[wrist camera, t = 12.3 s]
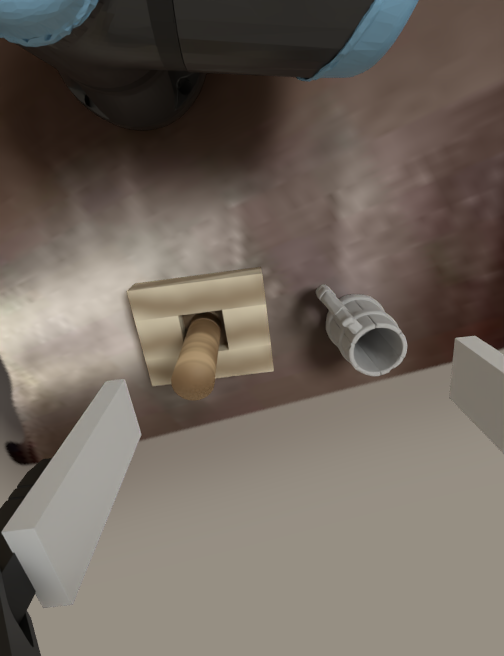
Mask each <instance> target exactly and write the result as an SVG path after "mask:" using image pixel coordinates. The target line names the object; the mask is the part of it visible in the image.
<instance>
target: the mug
mask: <svg viewBox="0 0 504 656" xmlns="http://www.w3.org/2000/svg"><path fill="white" fill-rule="evenodd" d="M316 295H317V297H318V298H319V299H320V301H321V302H322V303H323V304H325V305H326V306H327V308H328V310H329V311H328V314H327V319H326V331H327V334H328V336H329V338H330V340H331V341H332V342H333V343H334V344H335V345H336V346H337V347H338V348H339V350H340V352H341V354H342V356H343V357H344V358H345V359H346V360H347V361H348V362H350V363H351V364H352V366H353V367H354V368H355V369H356V370H357V371H359V372H361V373H363V374H366V375H370V376H380V375H383V374H385V373H388V372H389V371H390V370H391V369H392V368H395V367H396V366H398V365H399V364H400V363H401V361H402V360H403V357H405V355H406V352H407V341H406V338H405V336H404V334H403V333H402V332H401V330H400V329H399V327H398V325H397V323H396V322H395V320H394V319H393V318H392V317H391V316H390V315H388V314H387V313H385V311H384V309H383V307H382V306H381V305H380V304H379V303H378V302H377V301H376V300H375V299H373V298H372V297H370V296H367V295H361V294H350V296H349V295H346V296H343V297H341V298H340V299H338V298H337V297H336V295H335V293H334V292H333V291H332V290H331V289H330V288H329V287H328V286H327V285H325V284H323V285H321V286H319V287H318V288H317V289H316Z"/></svg>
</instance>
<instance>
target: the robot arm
mask: <svg viewBox="0 0 504 656" xmlns="http://www.w3.org/2000/svg"><path fill="white" fill-rule="evenodd" d="M417 2H418V0H0V38H3V37H4V38H5V39H6V40H7V41H9V42H12V43H15V44H17V45H19V46H20V47H22V48H24V49H25V50H27V51H28V52H30V53H32V54H33V55H35V56H37V57H38V58H40V59H41V60H43V61H45V62H46V63H48V64H50V65H51V66H53V67H55V68H56V69H57V70H58V72H59V74H60V76H61V77H62V79H63V81H64V82H65V84H66V85H67V87H68V88H69V89H70V91H71V92H72V93H73V94H74V95H75V97H76V98H77V99H78V100H79V101H80V102H81V103H82V104H83V105H84V106H86V107H87V108H88V109H89V110H90V111H92V112H93V113H95V114H96V115H97V116H99V117H101V118H103V119H105V120H107V121H109V122H111V123H113V124H115V125H117V126H120V127H123V128H127V129H132V130H152V129H157V128H161V127H163V126H166V125H168V124H170V123H172V122H174V121H175V120H177V119H178V118H179V117H181V116H182V115H183V114H184V113H185V112H186V111H187V110H188V109H189V108H190V107H191V105H192V104H193V103H194V101H195V99H196V98H197V96H198V94H199V92H200V90H201V88H202V85H203V83H204V80H205V76H206V73H220V74H241V75H262V76H283V77H296V78H297V79H298V80H301V81H311V80H317V79H319V78H346V77H353V76H355V75H358V74H361V73H363V72H365V71H366V70H368V69H370V68H371V67H372V66H374V65H375V64H376V63H377V62H378V61H379V60H380V59H381V58H382V57H383V56H384V55H385V54H386V52H387V51H388V50H389V49H390V47H391V46H392V45H393V43H394V42H395V40H396V39H397V38H398V36H399V34H400V33H401V31H402V30H403V28H404V26H405V24H406V23H407V21H408V19H409V17H410V15H411V14H412V12H413V10H414V8H415V6H416V4H417ZM449 398H450V399H451V400H452V401H453V402H454V403H455V404H456V405H457V406H458V407H459V408H460V409H461V410H462V412H463V413H464V414H465V415H466V416H467V417H468V418H469V419H470V420H471V421H472V422H473V423H474V424H475V425H476V426H477V427H478V428H479V429H480V430H481V431H482V432H483V433H484V434H485V435H486V436H487V437H488V438H489V439H490V440H491V441H492V442H493V443H494V444H495V445H496V446H497V447H498V448H499V450H500V451H501V452H502V453H503V454H504V355H503V354H502V353H501V352H499V351H498V350H496V349H494V348H493V347H491V346H490V345H488V344H487V343H485V342H484V341H482V340H481V339H479V338H478V337H476V336H469V337H461V338H455V345H454V355H453V365H452V375H451V385H450V395H449ZM140 437H141V432H140V428H139V425H138V422H137V418H136V415H135V411H134V408H133V405H132V401H131V398H130V395H129V391H128V388H127V385H126V381H125V379H120V380H112V381H106V382H105V383H104V385H103V386H102V388H101V389H100V390H99V392H98V393H97V395H96V396H95V398H94V399H93V401H92V402H91V403H90V405H89V406H88V408H87V409H86V411H85V412H84V413H83V415H82V416H81V418H80V419H79V421H78V422H77V424H76V425H75V426H74V428H73V429H72V431H71V432H70V434H69V435H68V437H67V438H66V439H65V441H64V442H63V444H62V445H61V447H60V448H59V449H58V451H57V452H56V454H55V455H54V457H53V458H49V459H43V460H41V461H40V462H39V463H38V464H37V465H35V466H34V468H32V469H31V470H30V471H28V472H27V474H26V475H25V476H24V478H23V479H22V480H21V482H20V483H19V484H18V486H17V489H15V490H14V491H13V492H12V494H11V495H10V496H9V499H8V501H6V502H5V503H4V504H3V506H2V507H1V508H0V656H41V654H40V650H39V647H38V643H37V639H36V635H35V632H34V628H33V624H32V620H31V617H30V616H29V614H28V612H27V608H28V607H29V605H30V603H31V601H32V598H33V597H34V595H35V594H36V596H37V598H38V599H39V601H40V603H41V605H42V607H43V608H48V607H56V606H66V605H73V603H74V600H75V598H76V595H77V593H78V590H79V588H80V585H81V583H82V580H83V578H84V575H85V573H86V570H87V568H88V566H89V563H90V561H91V558H92V556H93V553H94V551H95V548H96V546H97V543H98V541H99V538H100V536H101V533H102V531H103V528H104V526H105V523H106V521H107V518H108V516H109V513H110V511H111V509H112V506H113V504H114V501H115V499H116V496H117V494H118V491H119V489H120V486H121V484H122V481H123V479H124V476H125V474H126V471H127V469H128V466H129V464H130V462H131V459H132V456H133V454H134V451H135V449H136V447H137V444H138V442H139V439H140Z"/></svg>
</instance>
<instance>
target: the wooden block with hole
mask: <svg viewBox="0 0 504 656" xmlns="http://www.w3.org/2000/svg"><path fill="white" fill-rule="evenodd" d="M127 295H128V298H129V302H130V306H131V309H132V313H133V317H134V320H135V324H136V328H137V331H138V335H139V339H140V342H141V346H142V350H143V353H144V357H145V361H146V364H147V368H148V372H149V376H150V379H151V383H152V386H159V385H167V384H171V378H172V374H173V371H174V369H175V366H176V363H177V360H178V357H179V354H180V351H181V349H182V346H183V343H184V340H185V337H186V334H187V330H188V327H189V325H190V323H191V320H192V318H193V317H194V316H195V315H196V314H198V313H202V312H210V313H213V314H215V315H216V316H217V317H218V318H219V320H220V322H221V337H220V342H219V350H218V358H217V366H216V374H215V378H223V377H231V376H239V375H247V374H255V373H263V372H271V371H274V369H273V360H272V352H271V343H270V335H269V327H268V318H267V310H266V302H265V293H264V285H263V277H262V271H261V267H256V268H249V269H241V270H234V271H226V272H218V273H211V274H203V275H196V276H188V277H181V278H173V279H166V280H158V281H151V282H143V283H136V284H134V285H133V286H132V287H131V288H130V289H129V290H128V291H127Z"/></svg>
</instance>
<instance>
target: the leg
mask: <svg viewBox="0 0 504 656" xmlns="http://www.w3.org/2000/svg"><path fill="white" fill-rule="evenodd" d="M220 337H221V322H220V320H219V318H218V317H217V316H216V315H215V314H213V313H210V312H202V313H198V314H196V315H195V316H194V317H193V318H192V320H191V323H190V325H189V327H188V330H187V334H186V337H185V340H184V343H183V346H182V349H181V351H180V354H179V357H178V360H177V363H176V366H175V369H174V371H173V374H172V378H171V384H172V387H173V389H174V391H175V392H176V393H177V394H178V395H179V396H180V397H182V398H184V399H188V400H200V399H203V398H205V397H207V396H208V395H209V394H210V393H211V392H212V390H213V388H214V383H215V374H216V366H217V358H218V350H219V342H220Z"/></svg>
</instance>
